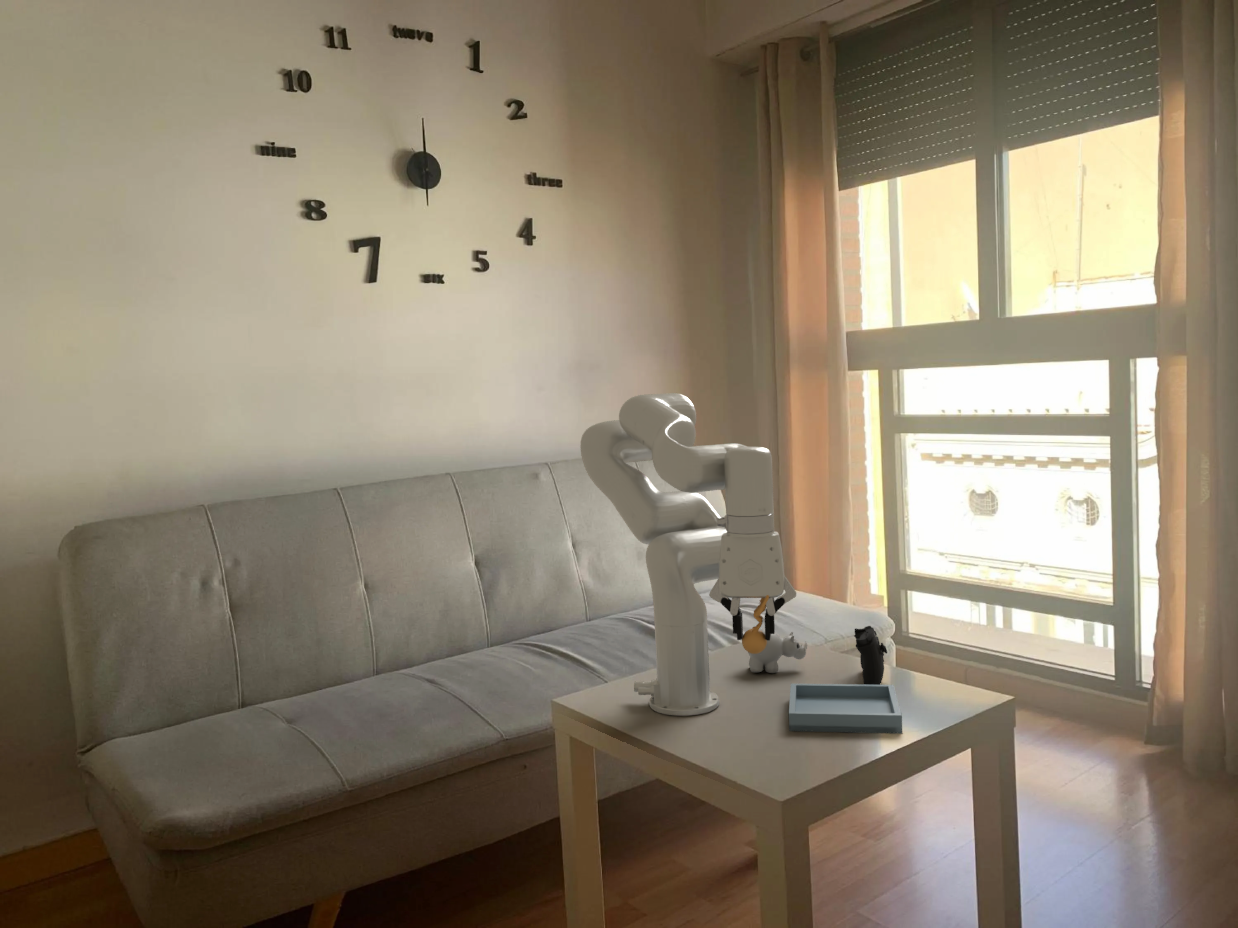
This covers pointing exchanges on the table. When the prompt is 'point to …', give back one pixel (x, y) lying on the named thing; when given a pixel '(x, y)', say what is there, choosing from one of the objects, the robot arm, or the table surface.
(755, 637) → the figurine
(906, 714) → the table surface
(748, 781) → the table surface
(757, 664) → the chubby cartoon animal
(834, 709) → the tray
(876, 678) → the black elongated piece
